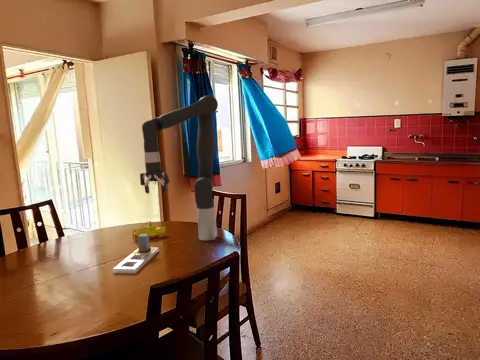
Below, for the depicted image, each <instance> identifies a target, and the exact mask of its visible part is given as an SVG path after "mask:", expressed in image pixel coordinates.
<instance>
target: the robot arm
mask: <svg viewBox="0 0 480 360" xmlns="http://www.w3.org/2000/svg"><path fill="white" fill-rule="evenodd" d="M218 106H219V104H218V100H217V98H215V96H212V95H204V96H201V97H200V98H199V100H198V101H195V103H192V104H190V105H188V106H185V107H182V108H178V109H175V110H172V111H171V110H170V111H169V112H166V113H164V114H161V115H159V116H158V117H156V118H151V119H149V120H148V119H147V120H146V121H144V122H143V123H142V125H141V129H142V138H143V151H144V165H145V172H141V173H140V174H139V177H140V178H139V180H140V185H141V186H143V187H144V192H145V193H146V194H150V185H149V184H150V182H151V183H153V182H159V183H160V184H161V189H162V190H161V191H162V194H165V193H166V192H167V185H168V184H170V177H169V172H168V171H165V172H163V171H162V164H161V155H160V149H159V141H158V132H161V131H163V130H166V129H170V128H173V127H175V126H177V125H179V124H182V123H184V122H186V121H188V120H191V119H193V118H196V117H198V128H197V136H196V137H197V138H196V157H197V158H196V159H197V163H198V175H197V180H196V181H195V182H194V189H193V190H194V199H195V205H196V214H197V215H196V216H197V229H198V230H197V231H198V239H199V240H200V241H205V242H206V241H215V240H216V238H217V237H218V233H217V232H218V231H217V220H216V219H215V218H216V216H215V202H214V197H213V189H214V177H213V175H214V174H213V165H214V158H215V157H214V156H215V143H216V142H215V133H214V132H215V131H214V126H213V119H214V118H213V117H214V113H215V112H217V111H216V110H217V109H218ZM162 176H163V177H162ZM145 178H147V179H146V180H145Z"/></svg>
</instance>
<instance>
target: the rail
mask: <svg viewBox="0 0 480 360" xmlns="http://www.w3.org/2000/svg"><path fill="white" fill-rule="evenodd" d="M157 253H159V247H157V246H156V247H155V246H154V247H151V246H150V251H149V252H148V253H139V248H138V247H137V248H136V249H135V250H134V251H133V252H132V253H130V254H129V255H128V256H126V258H124V259H123V260H122V261H121V262H119V263H118V264H117V265H116V266H114V267H113V268H112V273H113V274H134V275H135V274H137V273H138V272H139V271H140V269H142V268H143V267H144V266H146V265H147V264H148V262H149V261H150V260H151V259H152V258H153V257H154V256H155V255H157Z"/></svg>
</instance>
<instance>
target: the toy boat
mask: <svg viewBox="0 0 480 360" xmlns="http://www.w3.org/2000/svg"><path fill="white" fill-rule="evenodd" d="M148 223H149V224H148ZM145 225H146V227H144V226H145ZM142 227H143V228H142ZM164 233H166V227H165V226H159V227H156V225H155V224H153V223H152V221H151V220H149V221H148V222H146V223H145V224H143V225H142V226H140V227H139V228H134V229H133V230H132V240H133V241H135V242H136V241H137V242H138V238H137V236H139V235H140V234H149V240H150V239H155V238H158V237H159V236H161V235H163V234H164Z"/></svg>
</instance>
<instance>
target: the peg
mask: <svg viewBox="0 0 480 360" xmlns="http://www.w3.org/2000/svg"><path fill="white" fill-rule="evenodd" d="M150 244H151V243H150V239H149V234H140V235H139V236H137V249H138V248H139V253H148V252H149V251H150V247H151V245H150Z"/></svg>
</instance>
